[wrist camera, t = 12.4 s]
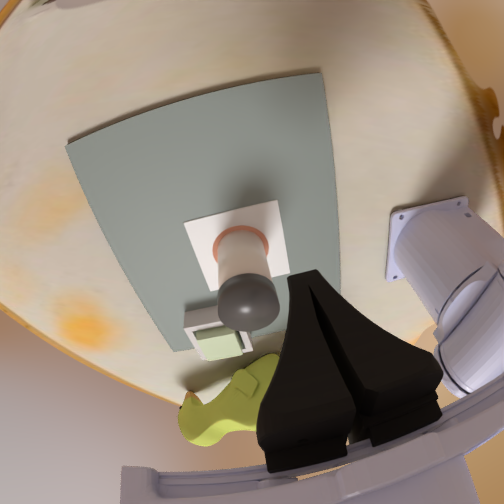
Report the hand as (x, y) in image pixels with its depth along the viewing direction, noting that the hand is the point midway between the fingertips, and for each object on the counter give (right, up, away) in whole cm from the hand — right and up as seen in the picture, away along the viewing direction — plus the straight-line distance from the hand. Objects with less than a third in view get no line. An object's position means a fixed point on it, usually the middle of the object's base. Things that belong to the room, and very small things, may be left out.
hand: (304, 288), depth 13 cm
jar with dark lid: (-3, +2, +10) cm, 11 cm away
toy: (-3, -13, +22) cm, 25 cm away
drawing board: (-4, +2, +11) cm, 12 cm away
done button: (-5, -6, +15) cm, 17 cm away
